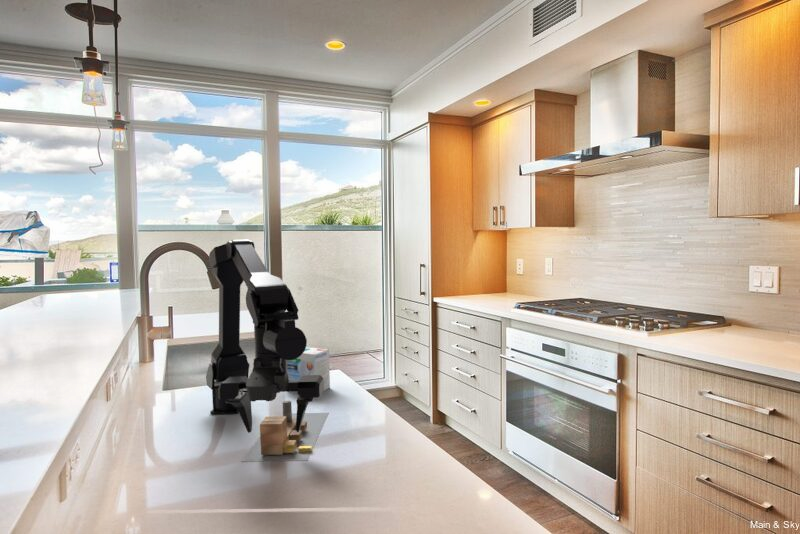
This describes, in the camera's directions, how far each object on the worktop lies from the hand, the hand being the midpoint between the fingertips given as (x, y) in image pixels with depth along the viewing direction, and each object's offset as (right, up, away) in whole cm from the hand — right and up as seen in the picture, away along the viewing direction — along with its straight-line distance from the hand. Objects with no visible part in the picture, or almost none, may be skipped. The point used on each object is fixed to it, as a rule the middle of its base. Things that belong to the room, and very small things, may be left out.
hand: (273, 431), depth 95 cm
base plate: (+1, -4, +9) cm, 10 cm away
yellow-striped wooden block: (0, -2, 0) cm, 2 cm away
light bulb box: (-1, -2, +42) cm, 42 cm away
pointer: (+6, -4, 0) cm, 7 cm away
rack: (+1, -3, +5) cm, 6 cm away
